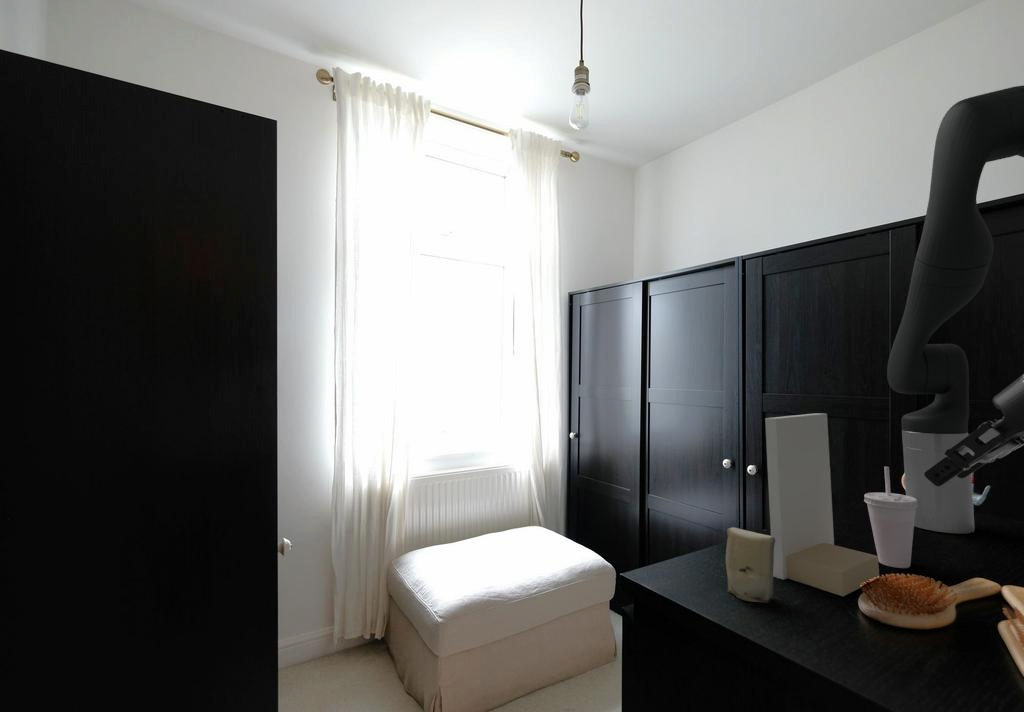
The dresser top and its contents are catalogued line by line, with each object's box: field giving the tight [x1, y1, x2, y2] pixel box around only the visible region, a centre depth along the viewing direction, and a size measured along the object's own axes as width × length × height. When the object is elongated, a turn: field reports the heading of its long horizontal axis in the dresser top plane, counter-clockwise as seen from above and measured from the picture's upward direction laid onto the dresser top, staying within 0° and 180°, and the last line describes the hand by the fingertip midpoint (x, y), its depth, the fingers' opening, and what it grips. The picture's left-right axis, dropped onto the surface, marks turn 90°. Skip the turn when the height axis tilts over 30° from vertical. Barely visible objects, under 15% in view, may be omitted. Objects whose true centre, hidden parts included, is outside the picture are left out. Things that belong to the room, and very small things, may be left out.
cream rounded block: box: [725, 526, 775, 604], centre depth 63 cm, size 6×5×8 cm
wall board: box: [764, 412, 880, 597], centre depth 69 cm, size 14×8×22 cm, turn 122°
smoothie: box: [863, 466, 918, 569], centre depth 73 cm, size 6×6×14 cm
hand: (943, 476), depth 68 cm, fingers open, 8 cm apart
